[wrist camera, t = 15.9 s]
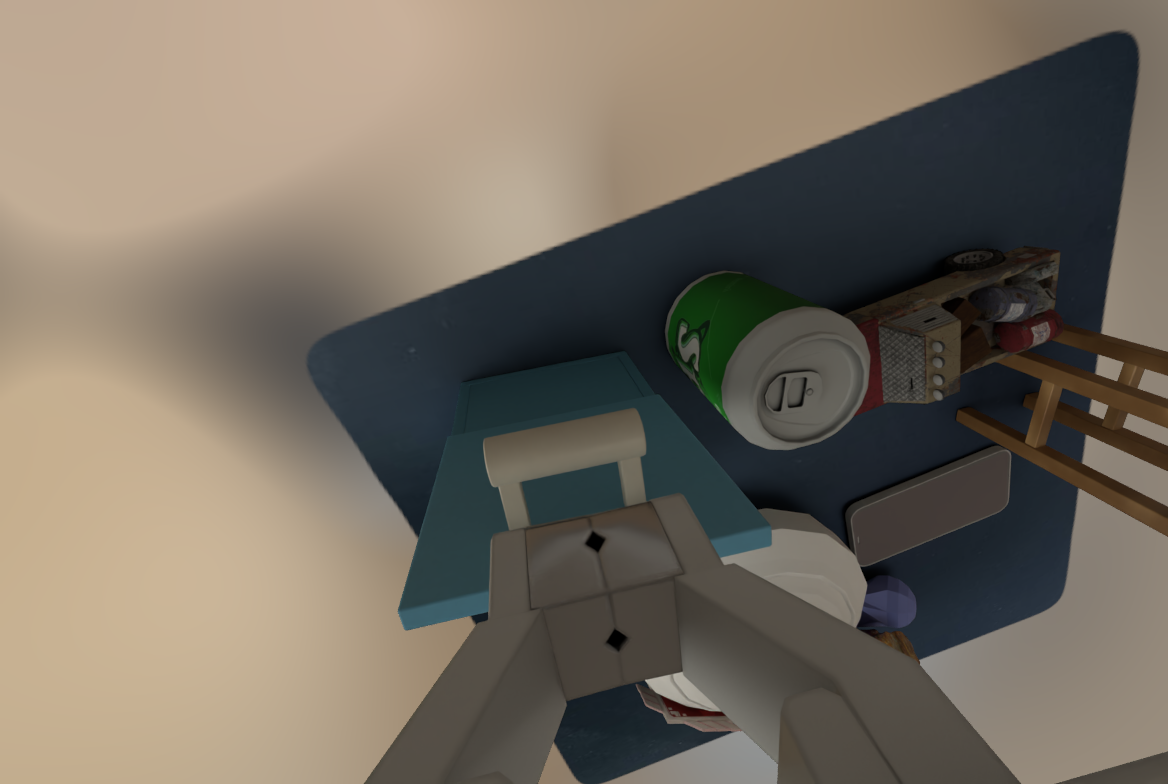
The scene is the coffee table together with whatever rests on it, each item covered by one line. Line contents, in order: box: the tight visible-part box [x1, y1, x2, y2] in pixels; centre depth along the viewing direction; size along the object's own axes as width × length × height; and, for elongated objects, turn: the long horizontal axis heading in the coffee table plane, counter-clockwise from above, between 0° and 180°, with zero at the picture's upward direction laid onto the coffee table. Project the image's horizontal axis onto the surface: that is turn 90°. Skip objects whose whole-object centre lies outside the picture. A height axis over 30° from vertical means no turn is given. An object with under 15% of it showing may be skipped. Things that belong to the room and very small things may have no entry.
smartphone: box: [845, 446, 1011, 566], centre depth 44 cm, size 7×1×15 cm
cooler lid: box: [398, 394, 772, 630], centre depth 20 cm, size 12×11×4 cm
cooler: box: [451, 351, 655, 436], centre depth 32 cm, size 11×11×8 cm
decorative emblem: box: [636, 684, 742, 732], centre depth 45 cm, size 10×1×10 cm
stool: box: [956, 324, 1168, 537], centre depth 32 cm, size 8×8×17 cm
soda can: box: [665, 271, 870, 450], centre depth 29 cm, size 8×8×12 cm
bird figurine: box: [856, 576, 917, 628], centre depth 45 cm, size 8×6×6 cm
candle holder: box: [645, 508, 868, 711], centre depth 36 cm, size 20×20×19 cm
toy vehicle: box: [843, 246, 1064, 416], centre depth 33 cm, size 7×18×8 cm, turn 109°
